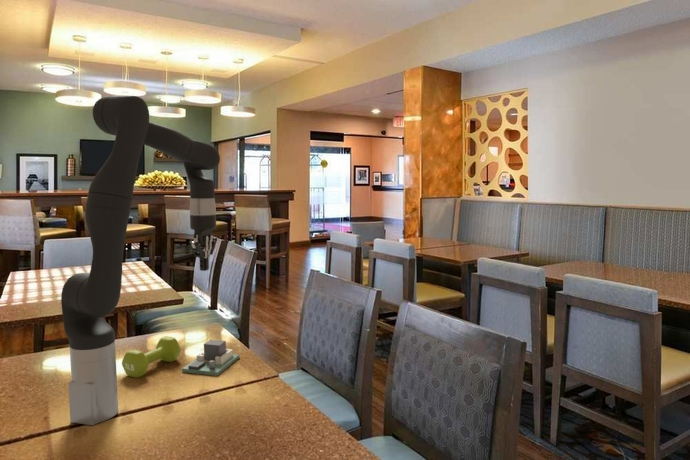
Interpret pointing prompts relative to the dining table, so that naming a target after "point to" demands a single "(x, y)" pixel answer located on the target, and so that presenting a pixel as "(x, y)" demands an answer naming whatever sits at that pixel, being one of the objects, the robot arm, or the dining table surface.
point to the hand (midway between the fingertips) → (204, 270)
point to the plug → (214, 349)
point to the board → (214, 371)
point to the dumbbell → (150, 357)
